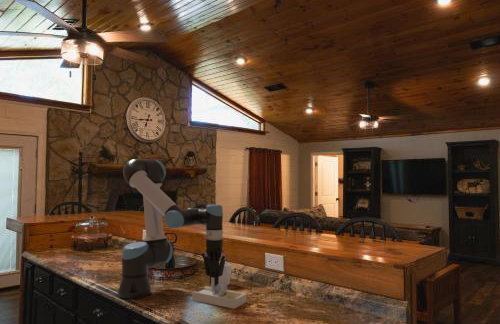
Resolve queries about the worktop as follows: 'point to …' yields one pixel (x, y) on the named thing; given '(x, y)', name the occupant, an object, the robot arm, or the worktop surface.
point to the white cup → (225, 275)
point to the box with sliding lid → (220, 298)
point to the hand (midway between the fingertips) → (214, 291)
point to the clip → (220, 290)
